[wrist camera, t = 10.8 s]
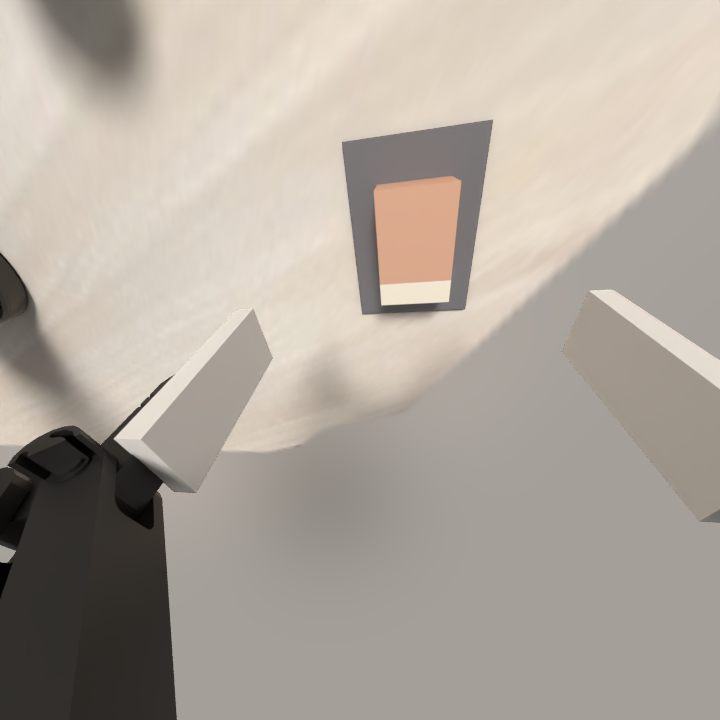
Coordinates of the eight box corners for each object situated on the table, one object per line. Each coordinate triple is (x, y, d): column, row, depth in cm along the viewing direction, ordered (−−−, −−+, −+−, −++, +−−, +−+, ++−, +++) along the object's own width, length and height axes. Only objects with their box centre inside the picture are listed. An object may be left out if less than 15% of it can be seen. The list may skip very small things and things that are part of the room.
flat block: (376, 184, 22) (373, 191, 19) (452, 175, 21) (461, 181, 18) (383, 287, 28) (381, 305, 25) (442, 283, 27) (448, 301, 24)
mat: (362, 312, 30) (362, 313, 30) (342, 142, 21) (341, 142, 21) (464, 307, 28) (465, 309, 28) (491, 120, 19) (493, 119, 19)
